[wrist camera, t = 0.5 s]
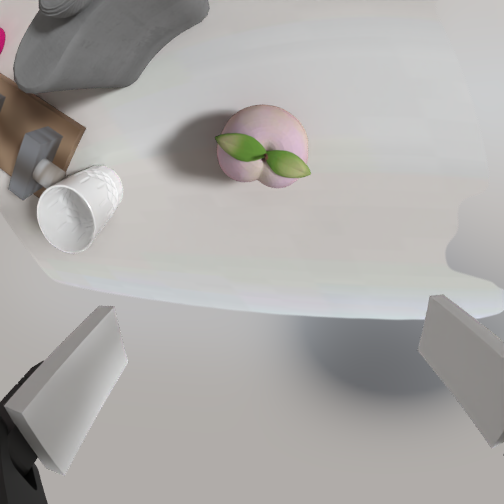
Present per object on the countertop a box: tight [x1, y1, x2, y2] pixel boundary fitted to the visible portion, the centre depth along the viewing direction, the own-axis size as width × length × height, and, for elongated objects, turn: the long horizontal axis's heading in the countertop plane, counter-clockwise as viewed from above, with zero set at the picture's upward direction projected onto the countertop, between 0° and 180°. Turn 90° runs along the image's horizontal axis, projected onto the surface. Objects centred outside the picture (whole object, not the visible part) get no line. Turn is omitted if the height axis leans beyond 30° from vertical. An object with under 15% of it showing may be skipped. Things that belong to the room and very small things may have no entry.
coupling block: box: [0, 73, 86, 200], centre depth 27 cm, size 12×23×6 cm, turn 52°
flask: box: [13, 0, 209, 94], centre depth 17 cm, size 15×6×20 cm, turn 130°
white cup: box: [37, 165, 123, 254], centre depth 31 cm, size 8×8×10 cm
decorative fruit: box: [215, 105, 311, 188], centre depth 28 cm, size 9×8×10 cm
